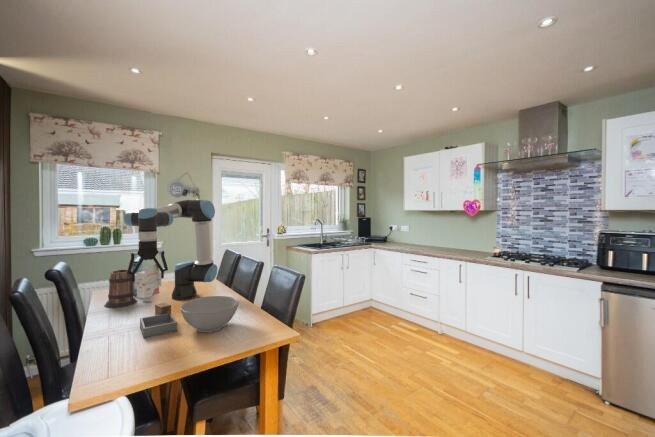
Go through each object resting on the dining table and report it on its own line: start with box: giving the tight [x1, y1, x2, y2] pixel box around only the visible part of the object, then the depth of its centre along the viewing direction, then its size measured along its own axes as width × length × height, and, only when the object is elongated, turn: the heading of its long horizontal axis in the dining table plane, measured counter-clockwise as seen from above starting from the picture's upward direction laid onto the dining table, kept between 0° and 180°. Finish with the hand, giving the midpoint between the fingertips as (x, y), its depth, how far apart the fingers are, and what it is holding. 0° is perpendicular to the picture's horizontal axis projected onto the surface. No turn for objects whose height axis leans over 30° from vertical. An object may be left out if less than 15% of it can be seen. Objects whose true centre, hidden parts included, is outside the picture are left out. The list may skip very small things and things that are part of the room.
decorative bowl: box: [179, 295, 240, 333], centre depth 146 cm, size 27×27×12 cm
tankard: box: [103, 269, 138, 309], centre depth 181 cm, size 24×17×20 cm
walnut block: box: [154, 302, 172, 316], centre depth 155 cm, size 5×7×8 cm
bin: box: [139, 312, 178, 339], centre depth 143 cm, size 14×16×4 cm
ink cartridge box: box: [136, 263, 160, 299], centre depth 141 cm, size 9×5×15 cm, turn 167°
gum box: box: [131, 256, 144, 296], centre depth 206 cm, size 20×5×23 cm, turn 26°
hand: (148, 286), depth 141 cm, fingers closed on ink cartridge box, 9 cm apart
